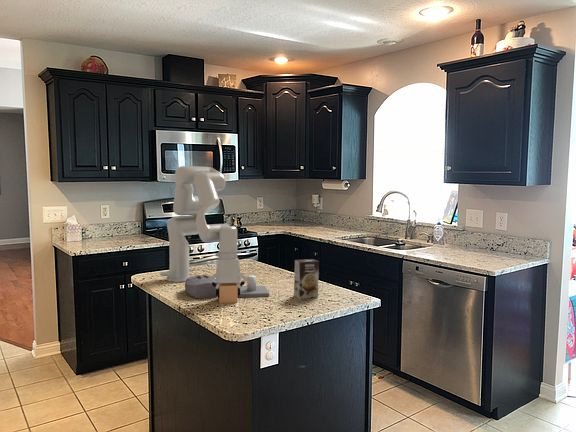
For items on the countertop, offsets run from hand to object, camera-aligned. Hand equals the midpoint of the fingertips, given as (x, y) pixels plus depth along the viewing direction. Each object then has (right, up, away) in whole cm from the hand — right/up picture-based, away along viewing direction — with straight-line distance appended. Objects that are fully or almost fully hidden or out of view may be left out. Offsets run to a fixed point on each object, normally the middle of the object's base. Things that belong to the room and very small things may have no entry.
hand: (228, 297), depth 200 cm
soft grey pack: (-13, -1, +12) cm, 18 cm away
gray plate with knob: (+9, 0, +13) cm, 16 cm away
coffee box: (+33, -1, +8) cm, 34 cm away
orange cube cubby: (0, -1, 0) cm, 1 cm away
